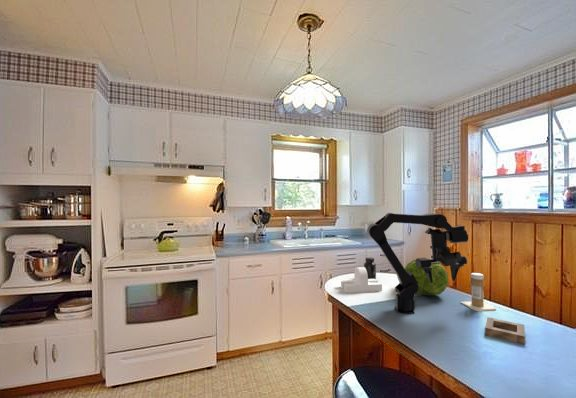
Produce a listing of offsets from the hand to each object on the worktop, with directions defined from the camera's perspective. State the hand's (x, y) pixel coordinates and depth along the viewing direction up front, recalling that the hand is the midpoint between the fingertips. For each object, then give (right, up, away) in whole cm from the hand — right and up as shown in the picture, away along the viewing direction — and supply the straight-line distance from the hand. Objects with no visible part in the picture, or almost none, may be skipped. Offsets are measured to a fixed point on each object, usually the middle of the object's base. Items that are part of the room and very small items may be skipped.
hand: (442, 281), depth 119 cm
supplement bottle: (-16, -12, +49) cm, 53 cm away
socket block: (+11, -12, -19) cm, 25 cm away
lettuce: (+2, -12, +24) cm, 27 cm away
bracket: (-26, -13, +31) cm, 42 cm away
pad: (+18, -12, +5) cm, 22 cm away
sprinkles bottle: (+18, -12, +5) cm, 22 cm away
